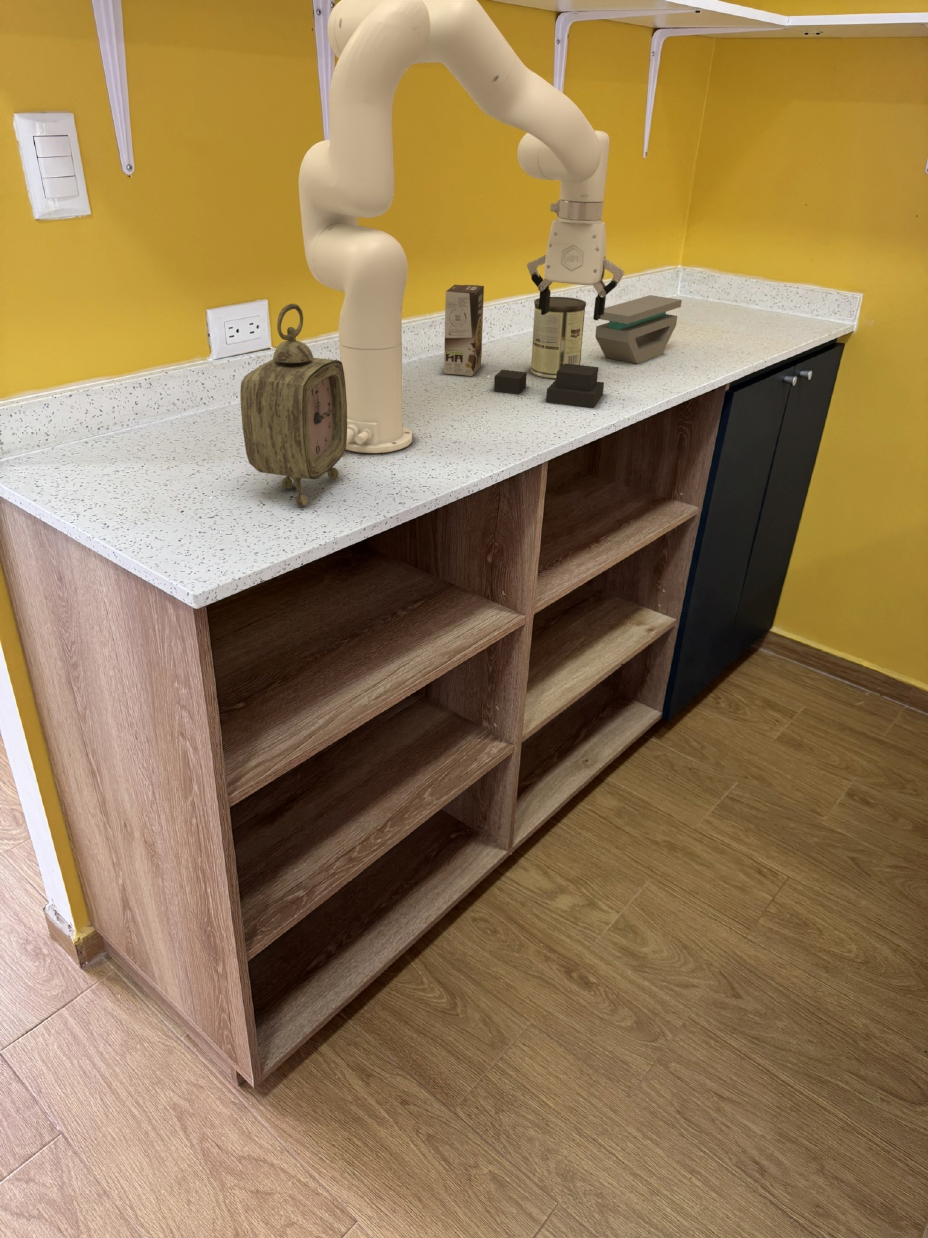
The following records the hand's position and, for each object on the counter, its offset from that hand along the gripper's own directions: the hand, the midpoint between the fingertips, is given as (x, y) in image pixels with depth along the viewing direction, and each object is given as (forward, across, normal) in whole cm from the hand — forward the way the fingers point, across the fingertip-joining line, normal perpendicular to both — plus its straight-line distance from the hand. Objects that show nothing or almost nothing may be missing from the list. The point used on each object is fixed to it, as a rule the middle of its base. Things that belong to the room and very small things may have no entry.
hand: (570, 316), depth 159 cm
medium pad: (+12, +2, 0) cm, 13 cm away
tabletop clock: (+16, -23, -60) cm, 66 cm away
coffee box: (+15, -24, +11) cm, 30 cm away
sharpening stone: (+14, +7, +38) cm, 42 cm away
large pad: (+15, +2, 0) cm, 15 cm away
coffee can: (+15, -6, +17) cm, 24 cm away
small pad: (+15, -11, +1) cm, 18 cm away
